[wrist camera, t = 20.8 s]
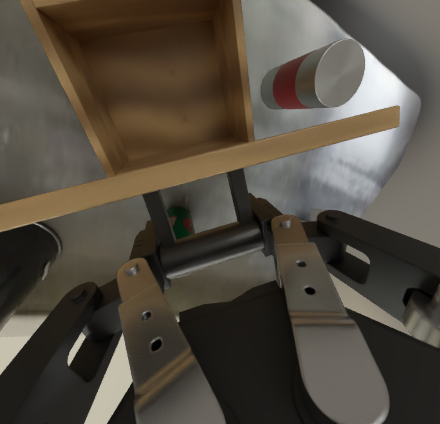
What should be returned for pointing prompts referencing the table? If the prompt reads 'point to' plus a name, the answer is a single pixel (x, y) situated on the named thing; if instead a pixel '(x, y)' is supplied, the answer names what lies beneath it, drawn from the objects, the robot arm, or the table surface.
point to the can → (316, 78)
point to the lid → (190, 171)
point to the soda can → (181, 223)
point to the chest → (150, 75)
